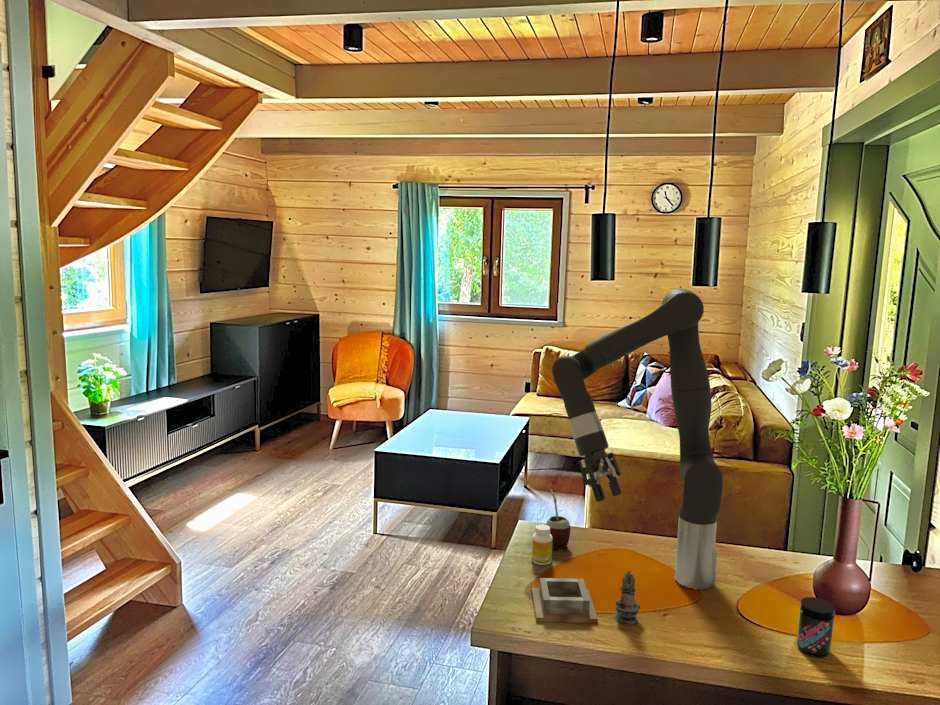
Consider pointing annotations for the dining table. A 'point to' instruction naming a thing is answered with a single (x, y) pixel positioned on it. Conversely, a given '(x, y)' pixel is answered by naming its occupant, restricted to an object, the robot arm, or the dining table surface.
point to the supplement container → (815, 626)
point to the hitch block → (563, 601)
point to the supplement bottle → (542, 545)
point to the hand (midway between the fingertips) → (609, 498)
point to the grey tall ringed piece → (627, 602)
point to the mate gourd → (559, 529)
